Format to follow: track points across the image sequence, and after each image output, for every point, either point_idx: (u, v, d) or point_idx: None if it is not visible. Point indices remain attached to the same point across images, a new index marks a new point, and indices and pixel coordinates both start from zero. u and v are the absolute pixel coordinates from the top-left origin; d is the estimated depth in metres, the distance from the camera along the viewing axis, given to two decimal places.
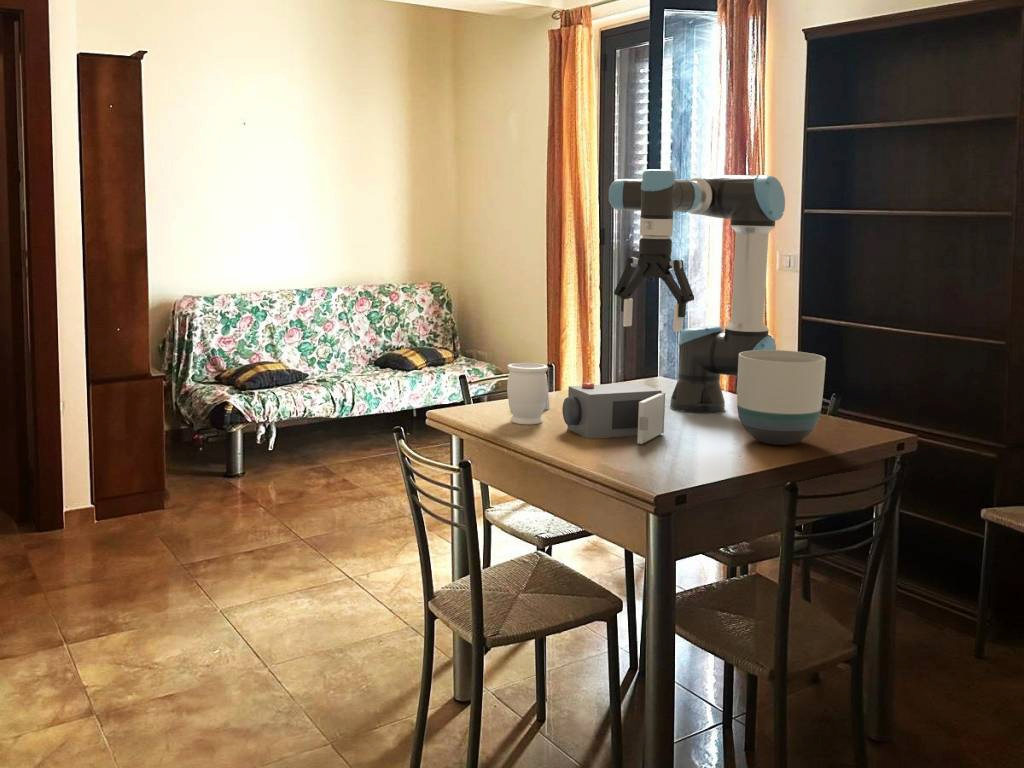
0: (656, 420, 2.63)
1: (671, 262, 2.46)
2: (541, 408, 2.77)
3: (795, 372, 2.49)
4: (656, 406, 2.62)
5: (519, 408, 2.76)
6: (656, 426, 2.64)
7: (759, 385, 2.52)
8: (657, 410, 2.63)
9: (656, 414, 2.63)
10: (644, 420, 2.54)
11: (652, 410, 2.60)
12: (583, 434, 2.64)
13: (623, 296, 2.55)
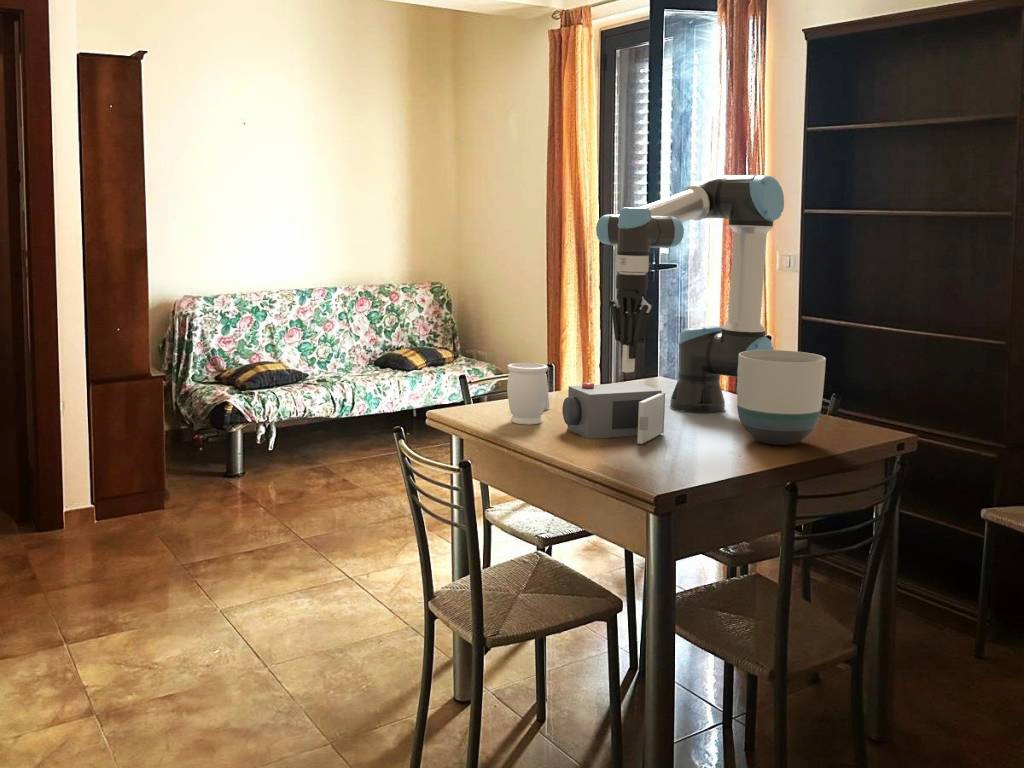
0: (656, 420, 2.63)
1: (643, 302, 2.52)
2: (541, 408, 2.77)
3: (795, 372, 2.49)
4: (656, 406, 2.62)
5: (519, 408, 2.76)
6: (656, 426, 2.64)
7: (759, 385, 2.52)
8: (657, 410, 2.63)
9: (656, 414, 2.63)
10: (644, 420, 2.54)
11: (652, 410, 2.60)
12: (583, 434, 2.64)
13: (622, 341, 2.57)
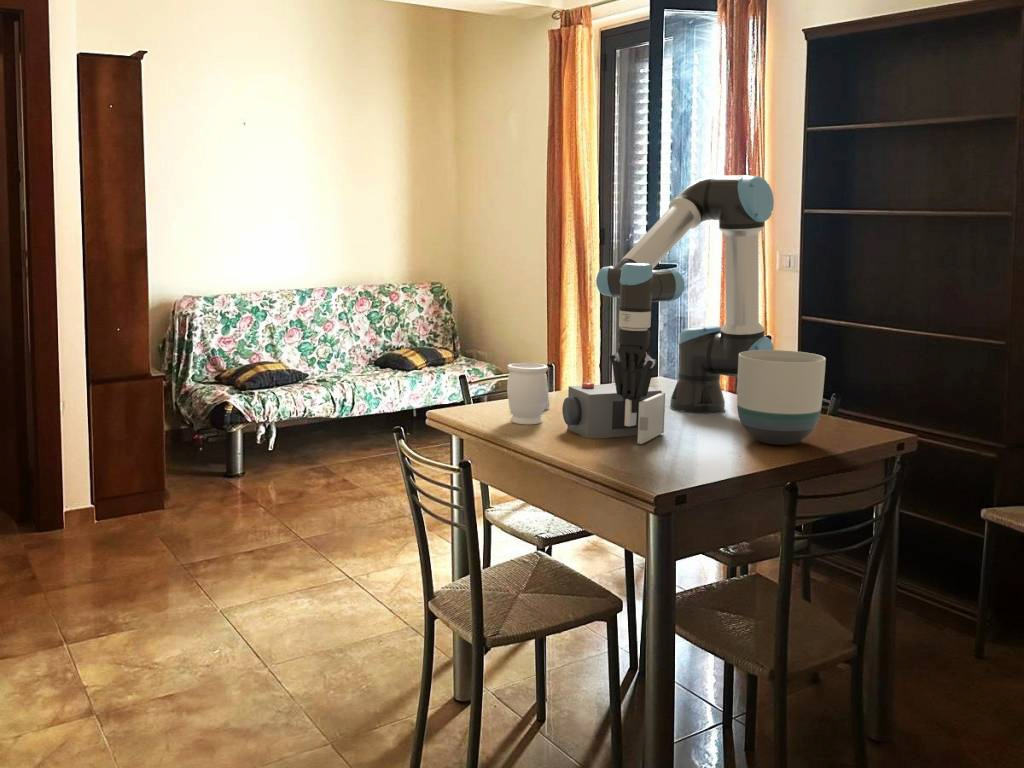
0: (656, 420, 2.63)
1: (646, 358, 2.54)
2: (541, 408, 2.77)
3: (795, 372, 2.49)
4: (656, 406, 2.62)
5: (519, 408, 2.76)
6: (656, 426, 2.64)
7: (759, 385, 2.52)
8: (657, 410, 2.63)
9: (656, 414, 2.63)
10: (644, 420, 2.54)
11: (652, 410, 2.60)
12: (583, 434, 2.64)
13: (625, 395, 2.58)
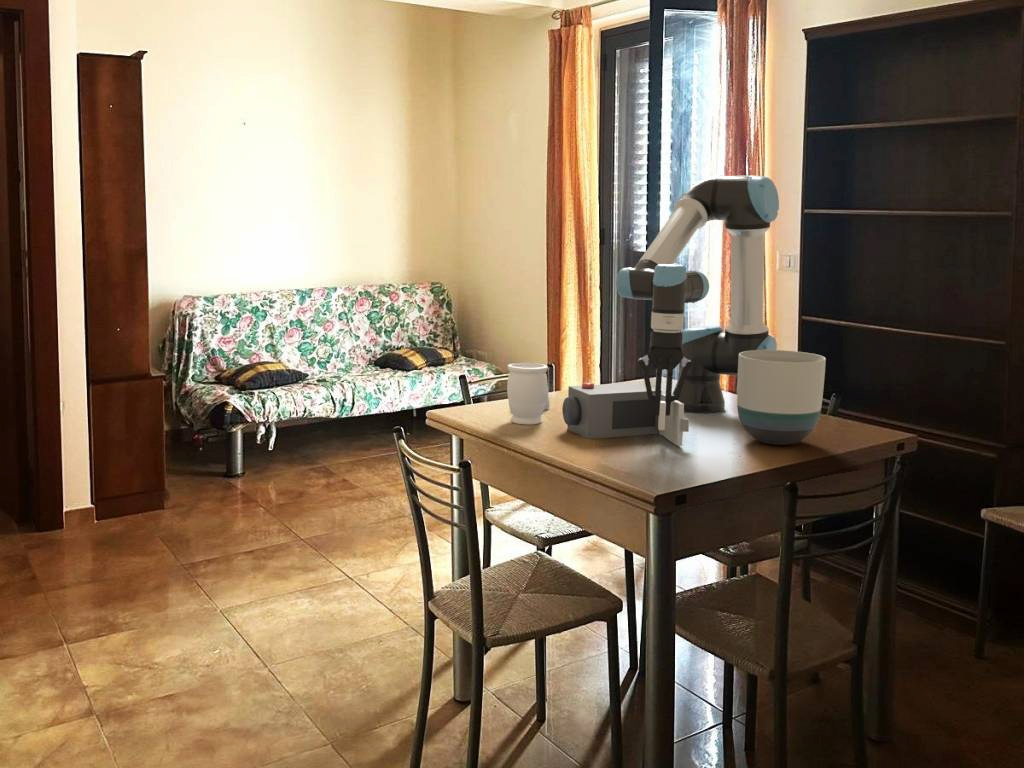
0: None
1: (684, 359, 2.53)
2: (541, 408, 2.77)
3: (795, 372, 2.49)
4: None
5: (519, 408, 2.76)
6: None
7: (759, 385, 2.52)
8: None
9: None
10: (686, 421, 2.53)
11: None
12: (583, 434, 2.64)
13: (659, 399, 2.54)
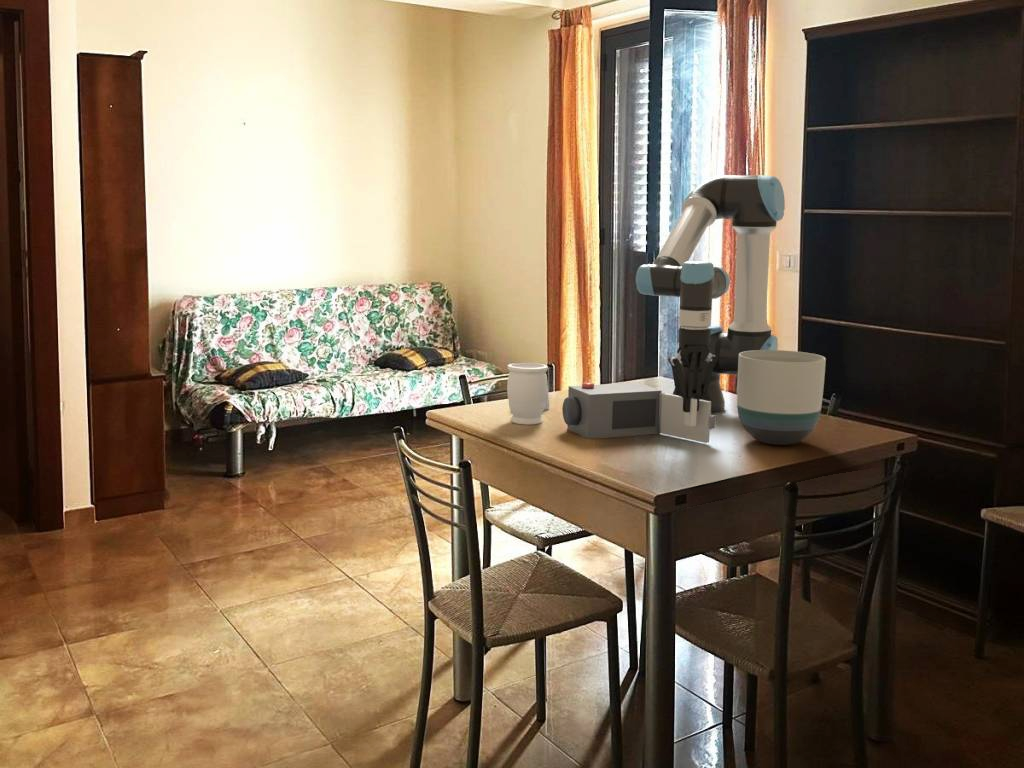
0: None
1: (709, 354, 2.56)
2: (541, 408, 2.77)
3: (795, 372, 2.49)
4: None
5: (519, 408, 2.76)
6: None
7: (759, 385, 2.52)
8: None
9: None
10: (713, 418, 2.58)
11: None
12: (583, 434, 2.64)
13: (691, 396, 2.55)
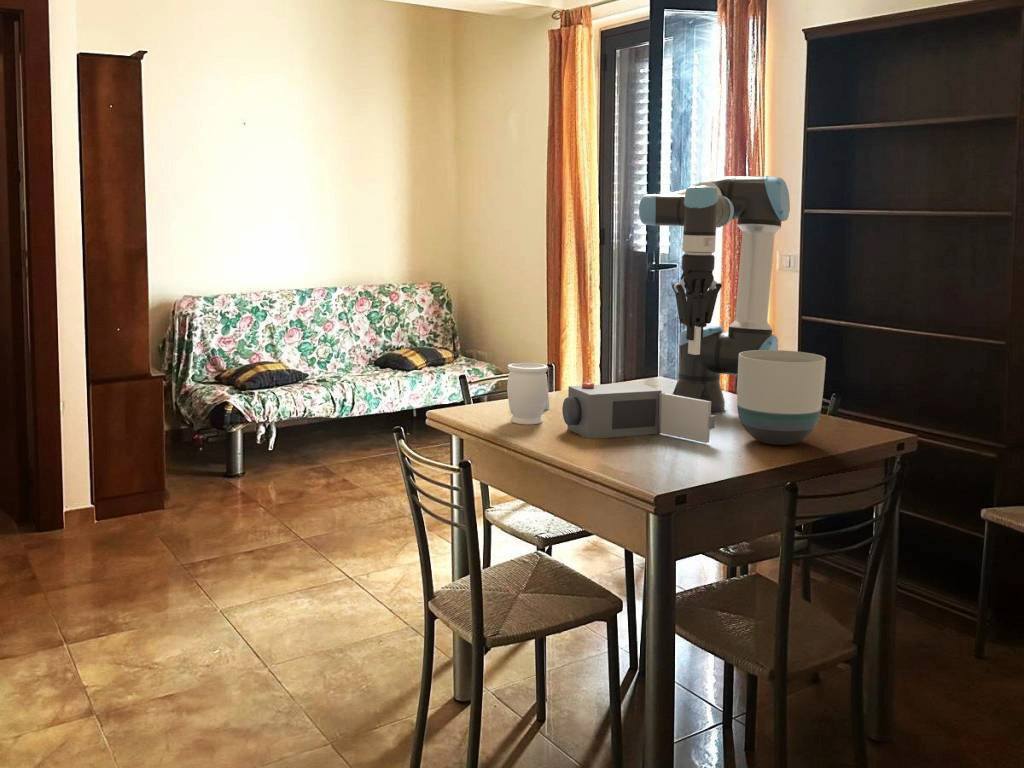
0: None
1: (713, 281, 2.53)
2: (541, 408, 2.77)
3: (795, 372, 2.49)
4: None
5: (519, 408, 2.76)
6: None
7: (759, 385, 2.52)
8: None
9: None
10: (713, 418, 2.58)
11: None
12: (583, 434, 2.64)
13: (694, 323, 2.51)
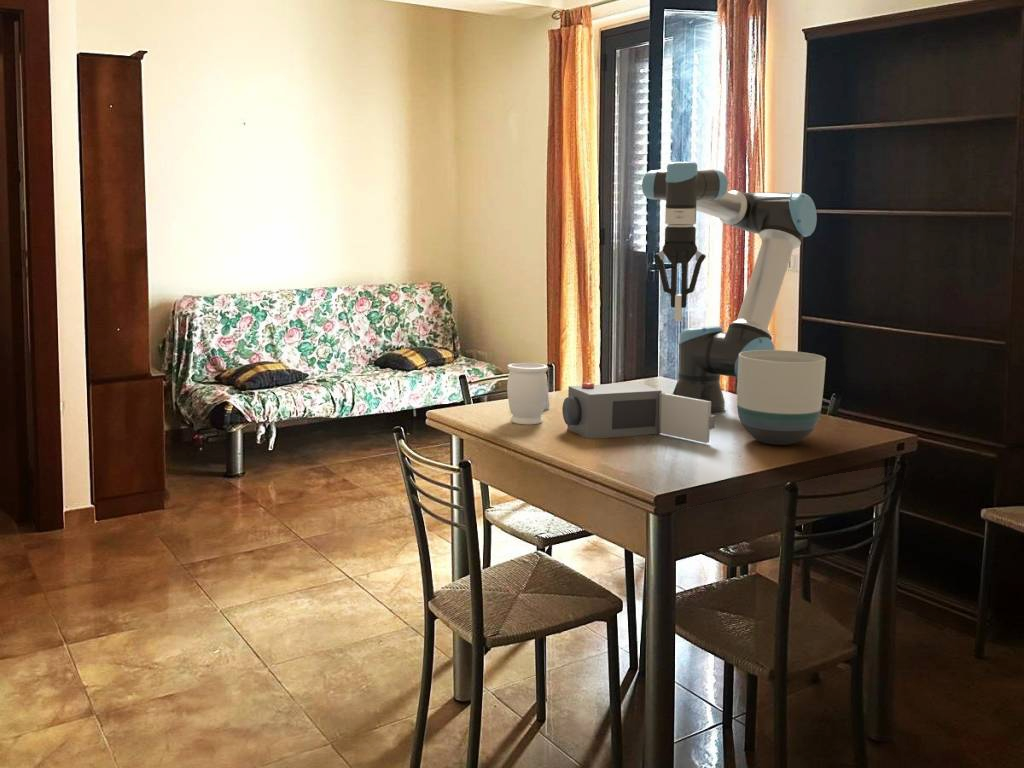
0: None
1: (697, 253, 2.64)
2: (541, 408, 2.77)
3: (795, 372, 2.49)
4: None
5: (519, 408, 2.76)
6: None
7: (759, 385, 2.52)
8: None
9: None
10: (713, 418, 2.58)
11: None
12: (583, 434, 2.64)
13: (674, 292, 2.67)
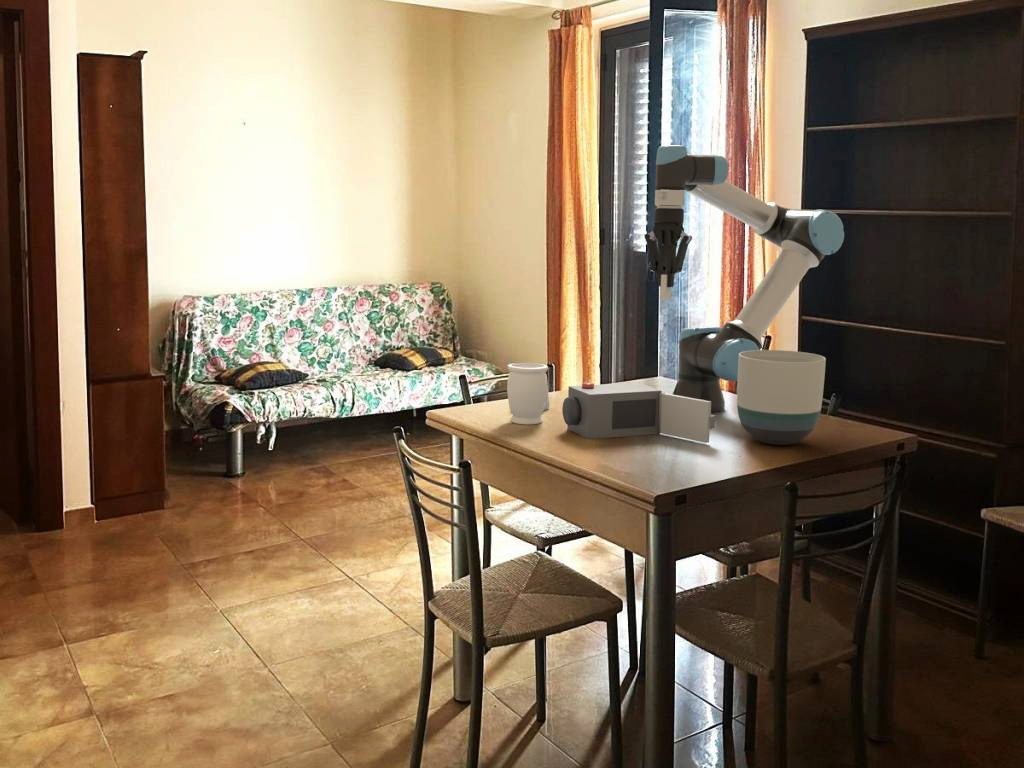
0: None
1: (682, 234, 2.72)
2: (541, 408, 2.77)
3: (795, 372, 2.49)
4: None
5: (519, 408, 2.76)
6: None
7: (759, 385, 2.52)
8: None
9: None
10: (713, 418, 2.58)
11: None
12: (583, 434, 2.64)
13: (660, 271, 2.76)
